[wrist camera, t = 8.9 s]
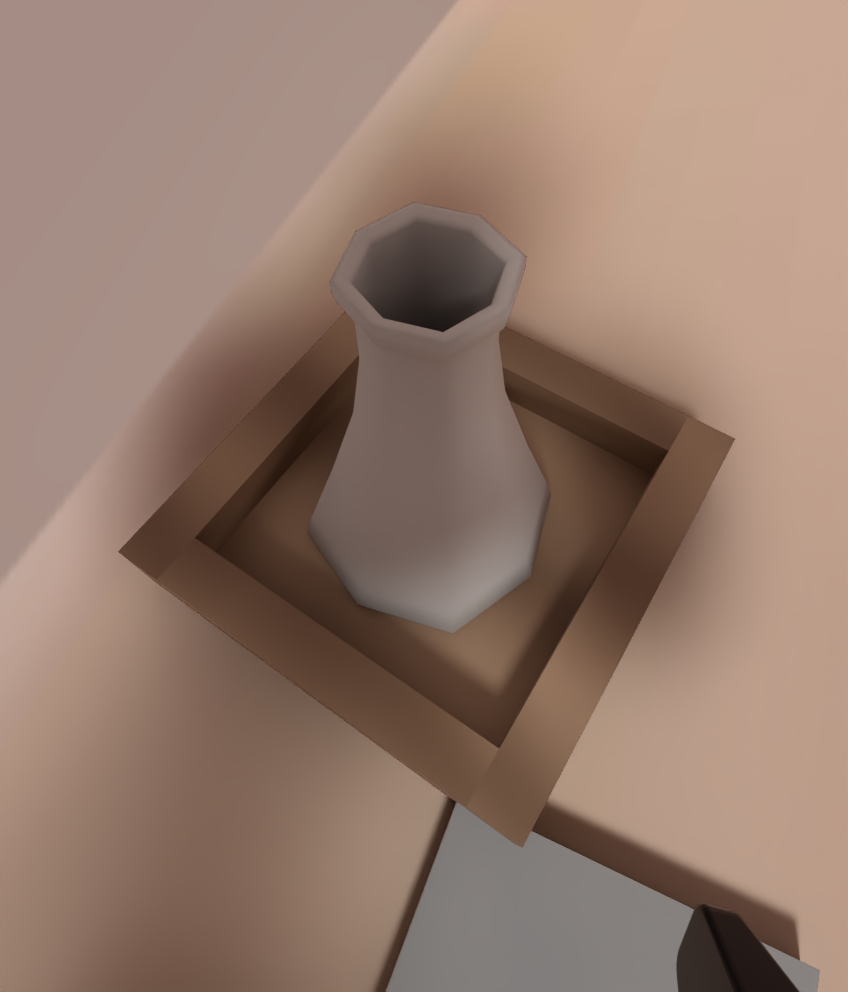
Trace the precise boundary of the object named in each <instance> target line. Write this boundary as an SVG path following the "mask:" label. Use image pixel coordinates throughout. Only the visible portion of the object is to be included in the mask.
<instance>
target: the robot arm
mask: <svg viewBox="0 0 848 992" xmlns="http://www.w3.org/2000/svg"><path fill="white" fill-rule="evenodd" d="M676 974H677V985H678V992H800V991H799V990H798V989H797V987H796V986H795V985H794V983H793V982H792V981H791V980H790V978H789V977H788V976H787V975H786V973H785V972H784V971H783V969H782V968H781V967H780V966H779V964H778V963H777V962H776V961H775V959H774V958H773V957H772V955H771V954H770V953H769V952H768V950H767V949H766V948H765V946H764V945H763V944H762V943H761V941H760V940H759V939H758V938H757V936H756V935H755V934H754V932H753V931H752V930H751V929H750V927H749V926H748V925H747V923H746V922H745V921H744V920H743V919H742V917H741V916H740V915H738V914H737V913H736V912H735V911H733V910H730V909H726V908H722V907H718V906H714V905H710V904H706V903H700V904H698V905H697V906H696V907H695V909H694V911H693V913H692V916H691V919H690V921H689V924H688V926H687V929H686V931H685V934H684V937H683V939H682V942H681V944H680V947H679V950H678V954H677V962H676Z"/></svg>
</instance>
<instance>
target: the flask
mask: <svg viewBox="0 0 848 992" xmlns="http://www.w3.org/2000/svg"><path fill="white" fill-rule="evenodd" d="M526 257H527V256H526V255H524V254H523V253H522V252H521V251H520V250H519V249H518V248H517V247H515V246H514V245H513V244H512V243H511V242H510V241H509V240H508V239H507V238H505V237H504V236H503V235H502V234H501V233H500V232H499V231H498V230H496V229H495V228H494V227H493V226H492V225H491V224H490V223H489V222H487V221H486V220H485V219H484V218H483V217H482V216H480V215H475V214H470V213H465V212H460V211H455V210H450V209H445V208H440V207H435V206H431V205H426V204H421V203H416V202H413V203H411V204H409V205H407V206H405V207H403V208H401V209H399V210H397V211H395V212H393V213H391V214H389V215H387V216H385V217H383V218H381V219H379V220H377V221H375V222H373V223H371V224H369V225H367V226H365V227H363V228H361V229H359V230H357V231H355V233H354V235H353V237H352V239H351V241H350V243H349V245H348V247H347V249H346V251H345V253H344V255H343V257H342V259H341V261H340V263H339V264H338V266H337V268H336V270H335V272H334V274H333V276H332V278H331V280H330V288H331V293H332V295H333V296H334V298H335V300H336V302H337V303H338V304H339V305H340V306H341V307H342V309H343V310H344V311H345V312H346V313H347V314H348V315H349V317H350V318H351V319H352V320H353V321H354V322H355V329H356V336H357V344H358V351H359V367H358V375H357V384H356V393H355V401H354V410H353V414H352V417H351V420H350V422H349V425H348V428H347V431H346V433H345V436H344V439H343V442H342V444H341V447H340V450H339V453H338V455H337V458H336V461H335V463H334V466H333V469H332V471H331V473H330V476H329V478H328V480H327V483H326V485H325V487H324V490H323V492H322V494H321V497H320V499H319V501H318V504H317V506H316V508H315V511H314V513H313V515H312V518H311V520H310V523H309V526H308V529H307V532H308V534H309V535H310V537H311V538H312V540H313V541H314V542H315V544H316V545H317V547H318V548H319V550H320V551H321V552H322V554H323V555H324V557H325V558H326V560H327V561H328V563H329V564H330V565H331V567H332V568H333V570H334V571H335V573H336V574H337V576H338V577H339V578H340V580H341V581H342V583H343V584H344V586H345V587H346V589H347V590H348V591H349V593H350V594H351V596H352V597H353V599H354V600H355V601H356V603H357V604H358V605H361V606H364V607H367V608H371V609H374V610H377V611H380V612H384V613H387V614H390V615H394V616H397V617H400V618H403V619H407V620H410V621H413V622H417V623H420V624H423V625H426V626H430V627H433V628H436V629H440V630H443V631H446V632H449V633H454V632H456V631H457V630H458V629H460V628H461V627H463V626H464V625H465V624H467V623H468V622H469V621H471V620H472V619H474V618H475V617H476V616H478V615H479V614H480V613H482V612H483V611H484V610H486V609H487V608H489V607H490V606H491V605H493V604H494V603H495V602H497V601H498V600H500V599H501V598H502V597H504V596H505V595H506V594H508V593H509V592H510V591H512V590H513V589H515V588H516V587H517V586H519V585H520V584H521V583H523V582H524V581H525V580H527V579H528V578H530V577H531V573H532V569H533V565H534V561H535V557H536V553H537V549H538V545H539V541H540V537H541V533H542V529H543V525H544V521H545V516H546V512H547V508H548V504H549V500H550V496H551V492H550V490H549V487H548V485H547V483H546V480H545V478H544V476H543V474H542V472H541V470H540V469H539V467H538V465H537V463H536V461H535V459H534V457H533V455H532V453H531V451H530V449H529V447H528V445H527V442H526V440H525V438H524V435H523V433H522V430H521V428H520V425H519V423H518V421H517V418H516V416H515V413H514V411H513V408H512V406H511V404H510V401H509V399H508V396H507V394H506V391H505V385H504V378H503V370H502V362H501V354H500V346H499V332H500V331H501V330H502V329H504V327H505V325H506V323H507V321H508V319H509V316H510V313H511V310H512V307H513V303H514V300H515V297H516V294H517V291H518V288H519V285H520V282H521V279H522V276H523V273H524V270H525V267H526Z"/></svg>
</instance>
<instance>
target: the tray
mask: <svg viewBox="0 0 848 992" xmlns="http://www.w3.org/2000/svg"><path fill="white" fill-rule="evenodd" d="M499 346H500V354H501V362H502V370H503V378H504V385H505V391H506V394H507V396H508V399H509V401H510V404H511V406H512V408H513V411H514V413H515V416H516V418H517V421H518V423H519V425H520V428H521V430H522V433H523V435H524V438H525V440H526V442H527V445H528V447H529V449H530V451H531V453H532V455H533V457H534V459H535V461H536V463H537V465H538V467H539V469H540V470H541V472H542V474H543V476H544V478H545V480H546V483H547V485H548V487H549V490H550V492H551V496H550V500H549V504H548V508H547V512H546V516H545V521H544V525H543V529H542V533H541V537H540V541H539V545H538V549H537V553H536V557H535V561H534V565H533V569H532V573H531V577H530V578H528V579H527V580H525V581H524V582H523V583H521V584H520V585H519V586H517V587H516V588H515V589H513V590H512V591H510V592H509V593H508V594H506V595H505V596H504V597H502V598H501V599H500V600H498V601H497V602H495V603H494V604H493V605H491V606H490V607H489V608H487V609H486V610H484V611H483V612H482V613H480V614H479V615H478V616H476V617H475V618H474V619H472V620H471V621H469V622H468V623H467V624H465V625H464V626H463V627H461V628H460V629H458V630H457V631H456V632H454V633H449V632H446V631H443V630H440V629H436V628H433V627H430V626H426V625H423V624H420V623H417V622H413V621H410V620H407V619H403V618H400V617H397V616H394V615H390V614H387V613H384V612H380V611H377V610H374V609H371V608H367V607H364V606H361V605H358V604H357V603H356V601H355V600H354V599H353V597H352V596H351V594H350V593H349V591H348V590H347V589H346V587H345V586H344V584H343V583H342V581H341V580H340V578H339V577H338V576H337V574H336V573H335V571H334V570H333V568H332V567H331V565H330V564H329V563H328V561H327V560H326V558H325V557H324V555H323V554H322V552H321V551H320V550H319V548H318V547H317V545H316V544H315V542H314V541H313V540H312V538H311V537H310V535H309V534H308V532H307V529H308V526H309V523H310V520H311V518H312V515H313V513H314V511H315V508H316V506H317V504H318V501H319V499H320V497H321V494H322V492H323V490H324V487H325V485H326V483H327V480H328V478H329V476H330V473H331V471H332V469H333V466H334V463H335V461H336V458H337V455H338V453H339V450H340V447H341V444H342V442H343V439H344V436H345V433H346V431H347V428H348V425H349V422H350V420H351V417H352V414H353V410H354V401H355V393H356V384H357V375H358V367H359V351H358V344H357V336H356V329H355V322H354V321H353V320H352V319H351V318H350V317H349V315H348V314H347V313H346V312H345V313H344V314H343V315H342V316H341V317H340V318H339V319H338V320H337V321H336V322H335V323H334V324H333V325H332V327H331V328H330V329H329V330H328V331H327V332H326V333H325V334H324V335H323V336H322V337H321V338H320V339H319V340H318V341H317V342H316V343H315V344H314V346H313V347H312V348H311V349H310V350H309V351H308V352H307V353H306V354H305V355H304V356H303V357H302V358H301V359H300V360H299V361H298V362H297V363H296V365H295V366H294V367H293V368H292V369H291V370H290V371H289V372H288V373H287V374H286V375H285V376H284V377H283V378H282V379H281V380H280V381H279V382H278V384H277V385H276V386H275V387H274V388H273V389H272V390H271V391H270V392H269V393H268V394H267V395H266V396H265V397H264V398H263V399H262V400H261V401H260V403H259V404H258V405H257V406H256V407H255V408H254V409H253V410H252V411H251V412H250V413H249V414H248V415H247V416H246V417H245V418H244V419H243V420H242V422H241V423H240V424H239V425H238V426H237V427H236V428H235V429H234V430H233V431H232V432H231V433H230V434H229V435H228V436H227V437H226V438H225V439H224V441H223V442H222V443H221V444H220V445H219V446H218V447H217V448H216V449H215V450H214V451H213V452H212V453H211V454H210V455H209V456H208V457H207V458H206V460H205V461H204V462H203V463H202V464H201V465H200V466H199V467H198V468H197V469H196V470H195V471H194V472H193V473H192V474H191V475H190V476H189V477H188V479H187V480H186V481H185V482H184V483H183V484H182V485H181V486H180V487H179V488H178V489H177V490H176V491H175V492H174V493H173V494H172V495H171V496H170V498H169V499H168V500H167V501H166V502H165V503H164V504H163V505H162V506H161V507H160V508H159V509H158V510H157V511H156V512H155V513H154V514H153V515H152V517H151V518H150V519H149V520H148V521H147V522H146V523H145V524H144V525H143V526H142V527H141V528H140V529H139V530H138V531H137V532H136V533H135V534H134V536H133V537H132V538H131V539H130V540H129V541H128V542H127V543H126V544H125V545H124V546H123V547H122V548H121V549H120V550H119V551H118V552H119V553H121V554H122V555H123V556H124V557H125V558H127V559H128V560H129V561H130V562H132V563H133V564H134V565H135V566H137V567H138V568H139V569H140V570H141V571H143V572H144V573H145V574H146V575H148V576H149V577H150V578H151V579H152V580H154V581H155V582H156V583H158V584H159V585H160V586H162V587H163V588H165V589H166V590H167V591H169V592H170V593H171V594H173V595H174V596H175V597H177V598H178V599H180V600H181V601H182V602H184V603H185V604H186V605H188V606H189V607H190V608H192V609H193V610H195V611H196V612H197V613H199V614H200V615H201V616H203V617H204V618H205V619H207V620H208V621H210V622H211V623H212V624H214V625H215V626H216V627H218V628H219V629H220V630H222V631H223V632H225V633H226V634H227V635H229V636H230V637H231V638H233V639H234V640H235V641H237V642H238V643H240V644H241V645H242V646H244V647H245V648H246V649H248V650H249V651H250V652H252V653H253V654H255V655H256V656H257V657H259V658H260V659H261V660H263V661H264V662H265V663H267V664H268V665H269V666H271V667H272V668H274V669H275V670H276V671H278V672H279V673H280V674H282V675H283V676H284V677H286V678H287V679H289V680H290V681H291V682H293V683H294V684H295V685H297V686H298V687H299V688H301V689H302V690H304V691H305V692H306V693H308V694H309V695H310V696H312V697H313V698H314V699H316V700H317V701H319V702H320V703H321V704H323V705H324V706H325V707H327V708H328V709H329V710H331V711H332V712H334V713H335V714H336V715H338V716H339V717H340V718H342V719H343V720H344V721H346V722H347V723H349V724H350V725H351V726H353V727H354V728H355V729H357V730H358V731H359V732H361V733H362V734H364V735H365V736H366V737H368V738H369V739H370V740H372V741H373V742H374V743H376V744H377V745H379V746H380V747H381V748H383V749H384V750H385V751H387V752H388V753H389V754H391V755H392V756H393V757H395V758H396V759H398V760H399V761H400V762H402V763H403V764H404V765H406V766H407V767H408V768H410V769H411V770H413V771H414V772H415V773H417V774H418V775H419V776H421V777H422V778H423V779H425V780H426V781H428V782H429V783H430V784H432V785H433V786H434V787H436V788H437V789H438V790H440V791H441V792H443V793H444V794H445V795H447V796H448V797H449V798H451V799H452V800H453V801H455V802H458V803H459V804H460V805H462V806H463V807H464V808H466V809H467V810H468V811H470V812H471V813H473V814H474V815H475V816H477V817H478V818H479V819H481V820H482V821H483V822H485V823H486V824H488V825H489V826H490V827H492V828H493V829H494V830H496V831H497V832H498V833H500V834H501V835H503V836H504V837H505V838H507V839H508V840H509V841H511V842H512V843H513V844H516V845H518V846H520V847H522V848H523V846H524V844H525V842H526V840H527V838H528V836H529V834H530V832H531V831H532V829H533V827H534V825H535V823H536V821H537V819H538V817H539V815H540V813H541V811H542V809H543V807H544V806H545V804H546V802H547V800H548V798H549V796H550V794H551V792H552V790H553V788H554V786H555V784H556V782H557V780H558V779H559V777H560V775H561V773H562V771H563V769H564V767H565V765H566V763H567V761H568V759H569V757H570V755H571V754H572V752H573V750H574V748H575V746H576V744H577V742H578V740H579V738H580V736H581V734H582V732H583V730H584V729H585V727H586V725H587V723H588V721H589V719H590V717H591V715H592V713H593V711H594V709H595V707H596V705H597V704H598V702H599V700H600V698H601V696H602V694H603V692H604V690H605V688H606V686H607V684H608V682H609V680H610V679H611V677H612V675H613V673H614V671H615V669H616V667H617V665H618V663H619V661H620V659H621V657H622V655H623V654H624V652H625V650H626V648H627V646H628V644H629V642H630V640H631V638H632V636H633V634H634V632H635V630H636V629H637V627H638V625H639V623H640V621H641V619H642V617H643V615H644V613H645V611H646V609H647V607H648V605H649V604H650V602H651V600H652V598H653V596H654V594H655V592H656V590H657V588H658V586H659V584H660V582H661V580H662V579H663V577H664V575H665V573H666V571H667V569H668V567H669V565H670V563H671V561H672V559H673V557H674V555H675V554H676V552H677V550H678V548H679V546H680V544H681V542H682V540H683V538H684V536H685V534H686V532H687V530H688V529H689V527H690V525H691V523H692V521H693V519H694V517H695V515H696V513H697V511H698V509H699V507H700V505H701V503H702V502H703V500H704V498H705V496H706V494H707V492H708V490H709V488H710V486H711V484H712V482H713V480H714V478H715V477H716V475H717V473H718V471H719V469H720V467H721V465H722V463H723V461H724V459H725V457H726V455H727V453H728V452H729V450H730V448H731V446H732V444H733V442H734V440H735V439H734V438H732V437H730V436H728V435H726V434H724V433H722V432H720V431H718V430H716V429H714V428H712V427H710V426H708V425H706V424H704V423H702V422H700V421H697V420H695V419H693V418H691V417H689V416H687V415H685V414H683V413H681V412H679V411H677V410H675V409H673V408H671V407H669V406H667V405H665V404H663V403H660V402H658V401H656V400H654V399H652V398H650V397H648V396H646V395H644V394H642V393H640V392H638V391H636V390H634V389H632V388H630V387H628V386H626V385H624V384H621V383H619V382H617V381H615V380H613V379H611V378H609V377H607V376H605V375H603V374H601V373H599V372H597V371H595V370H593V369H591V368H589V367H587V366H584V365H582V364H580V363H578V362H576V361H574V360H572V359H570V358H568V357H566V356H564V355H562V354H560V353H558V352H556V351H554V350H552V349H550V348H547V347H545V346H543V345H541V344H539V343H537V342H535V341H533V340H531V339H529V338H527V337H525V336H523V335H521V334H519V333H517V332H515V331H513V330H510V329H508V328H506V327H504V329H502V330H501V331H500V332H499Z"/></svg>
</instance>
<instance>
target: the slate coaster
mask: <svg viewBox="0 0 848 992" xmlns="http://www.w3.org/2000/svg"><path fill="white" fill-rule="evenodd" d="M693 911H694V909H692V908H690V907H688V906H686V905H684V904H682V903H680V902H678V901H675V900H673V899H671V898H669V897H667V896H665V895H663V894H661V893H659V892H657V891H655V890H653V889H651V888H649V887H646V886H644V885H642V884H640V883H638V882H636V881H634V880H632V879H630V878H628V877H626V876H624V875H622V874H620V873H617V872H615V871H613V870H611V869H609V868H607V867H605V866H603V865H601V864H599V863H597V862H595V861H593V860H591V859H589V858H586V857H584V856H582V855H580V854H578V853H576V852H574V851H572V850H570V849H568V848H566V847H564V846H562V845H560V844H557V843H555V842H553V841H551V840H549V839H547V838H545V837H543V836H541V835H539V834H537V833H535V832H533V831H531V832H530V834H529V836H528V838H527V840H526V842H525V844H524V846H523V848H522V847H520V846H518V845H516V844H513V843H512V842H511V841H509V840H508V839H507V838H505V837H504V836H503V835H501V834H500V833H498V832H497V831H496V830H494V829H493V828H492V827H490V826H489V825H488V824H486V823H485V822H483V821H482V820H481V819H479V818H478V817H477V816H475V815H474V814H473V813H471V812H470V811H468V810H467V809H466V808H464V807H463V806H462V805H460V804H459V803H458V802H456V803H455V806H454V808H453V811H452V814H451V816H450V819H449V822H448V824H447V827H446V830H445V832H444V835H443V838H442V840H441V843H440V846H439V848H438V851H437V854H436V856H435V859H434V862H433V865H432V867H431V870H430V873H429V875H428V878H427V881H426V883H425V886H424V889H423V891H422V894H421V897H420V899H419V902H418V905H417V907H416V910H415V913H414V915H413V918H412V921H411V923H410V926H409V929H408V931H407V934H406V937H405V939H404V942H403V945H402V948H401V950H400V953H399V956H398V958H397V961H396V964H395V966H394V969H393V972H392V974H391V977H390V980H389V982H388V985H387V988H386V990H385V992H678V985H677V974H676V962H677V954H678V950H679V947H680V944H681V942H682V939H683V937H684V934H685V931H686V929H687V926H688V924H689V921H690V919H691V916H692V913H693ZM761 943H762V942H761ZM762 944H763V945H764V946H765V948H766V949H767V950H768V952H769V953H770V954H771V955H772V957H773V958H774V959H775V961H776V962H777V963H778V964H779V966H780V967H781V968H782V969H783V971H784V972H785V973H786V975H787V976H788V977H789V978H790V980H791V981H792V982H793V983H794V985H795V986H796V987H797V989H798V990H799V991H800V992H817V988H818V980H819V972H820V970H818V969H816V968H814V967H812V966H810V965H808V964H806V963H804V962H802V961H800V960H798V959H795V958H793V957H791V956H789V955H787V954H785V953H783V952H781V951H779V950H777V949H775V948H773V947H771V946H769V945H767V944H764V943H762Z"/></svg>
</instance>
